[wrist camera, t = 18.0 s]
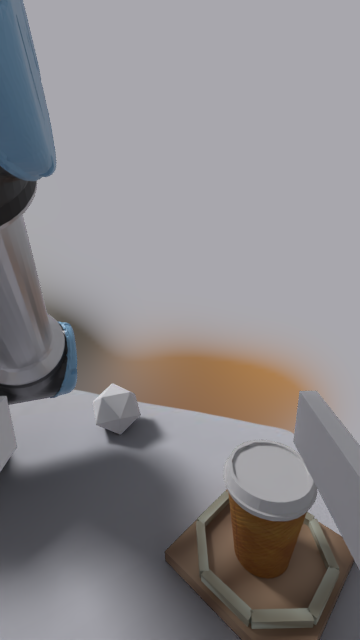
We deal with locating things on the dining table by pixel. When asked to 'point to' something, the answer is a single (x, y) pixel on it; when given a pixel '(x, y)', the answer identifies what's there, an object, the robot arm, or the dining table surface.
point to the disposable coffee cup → (267, 504)
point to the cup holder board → (261, 593)
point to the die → (115, 409)
